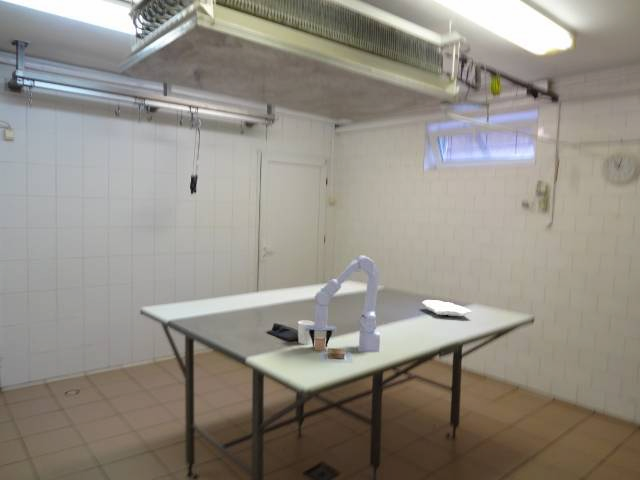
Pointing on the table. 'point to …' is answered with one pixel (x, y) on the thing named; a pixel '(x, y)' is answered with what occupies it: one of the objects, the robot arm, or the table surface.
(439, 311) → the crumpled cloth
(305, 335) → the white cup
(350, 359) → the blueprint board
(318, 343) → the top block
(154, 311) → the table surface
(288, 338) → the dark slate chunk
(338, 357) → the base block
